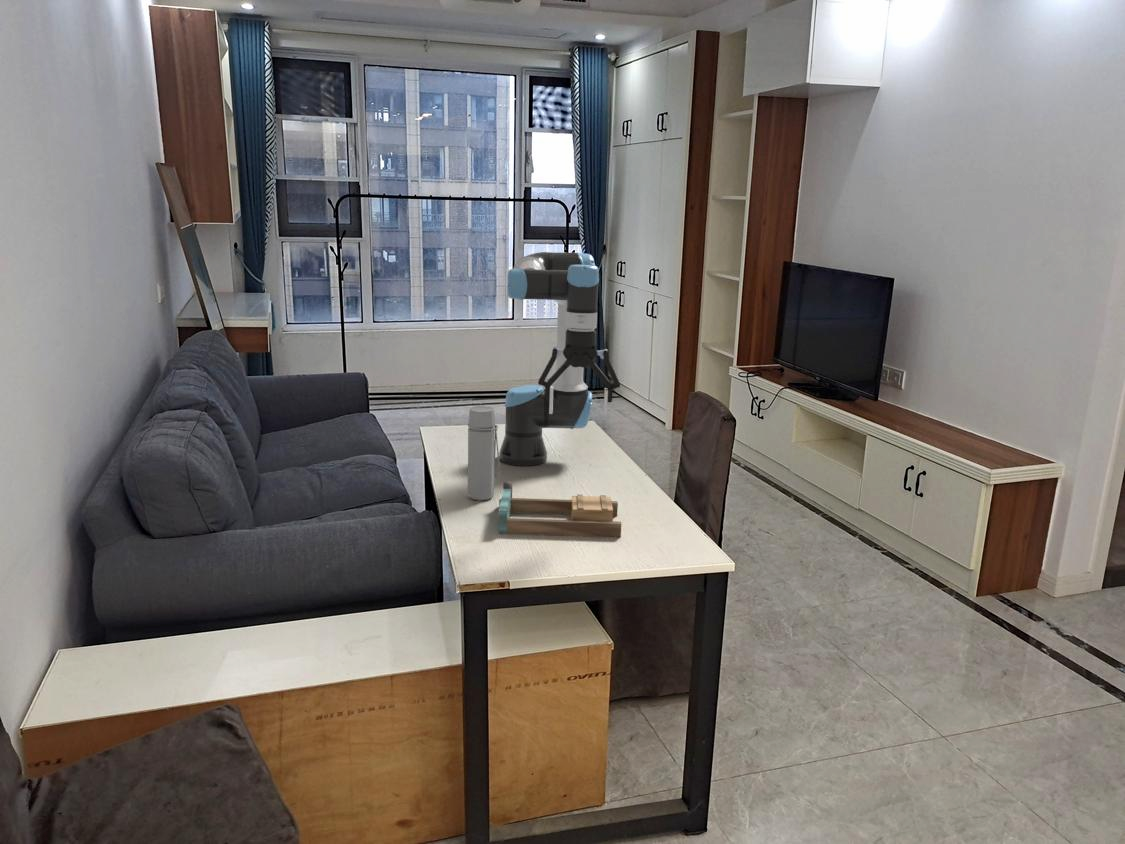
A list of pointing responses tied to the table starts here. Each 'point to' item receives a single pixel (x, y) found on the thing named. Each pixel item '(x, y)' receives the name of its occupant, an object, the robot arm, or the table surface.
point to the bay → (549, 525)
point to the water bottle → (482, 453)
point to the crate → (592, 508)
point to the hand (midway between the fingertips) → (578, 413)
